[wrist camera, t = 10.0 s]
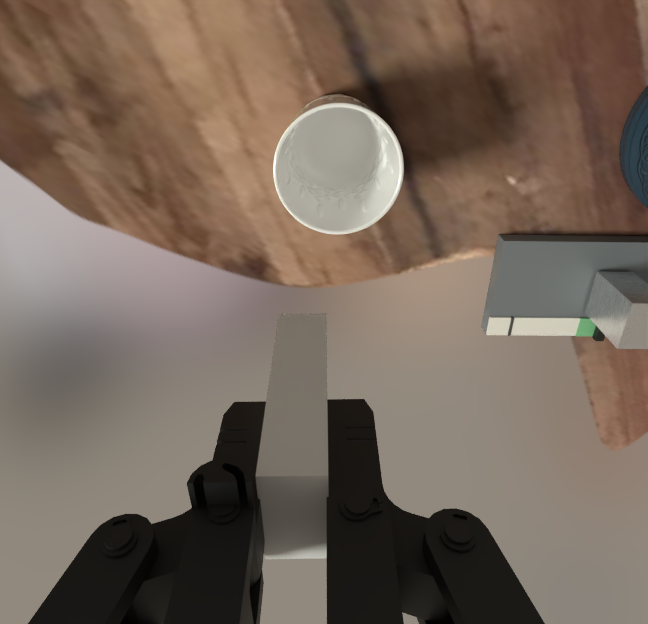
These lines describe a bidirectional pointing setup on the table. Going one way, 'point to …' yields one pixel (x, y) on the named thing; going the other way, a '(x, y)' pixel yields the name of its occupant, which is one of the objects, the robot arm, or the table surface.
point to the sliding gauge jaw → (619, 309)
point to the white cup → (338, 165)
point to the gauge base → (554, 281)
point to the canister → (636, 149)
